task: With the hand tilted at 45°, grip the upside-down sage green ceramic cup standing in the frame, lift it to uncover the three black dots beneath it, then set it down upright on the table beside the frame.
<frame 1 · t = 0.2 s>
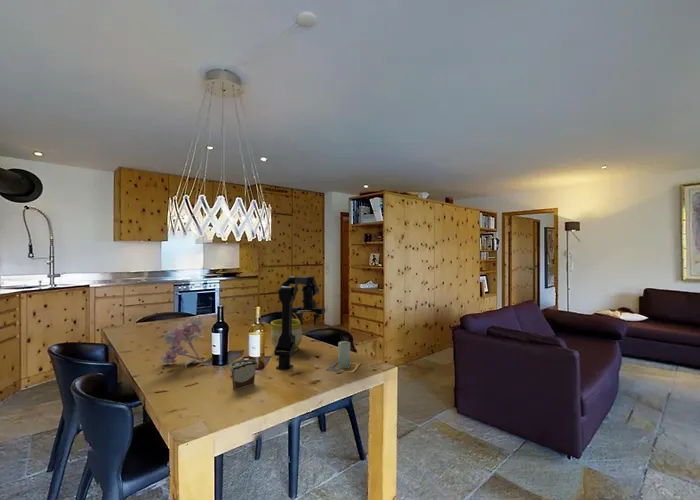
hand: (308, 325, 203), 15 cm above the table, tool pointing down, fingers open, 8 cm apart
flowerpot: (286, 350, 206), on the table, touching gripper
flower: (178, 365, 179), on the table
food container: (240, 385, 152), on the table
dot frame: (344, 367, 177), on the table
sage cup: (344, 366, 177), on the table, touching dot frame
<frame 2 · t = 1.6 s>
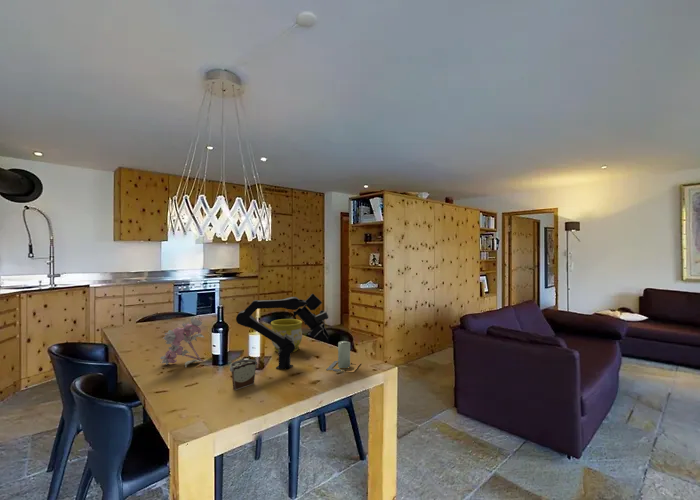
hand: (329, 339, 177), 13 cm above the table, tool tilted 45°, fingers open, 9 cm apart
flowerpot: (286, 350, 206), on the table
everything else where it was.
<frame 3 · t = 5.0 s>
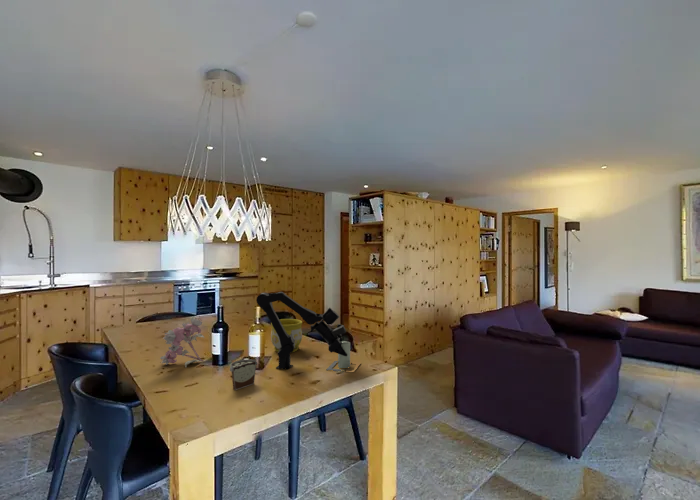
hand: (347, 353, 177), 7 cm above the table, tool tilted 45°, fingers closed on sage cup, 6 cm apart
sage cup: (344, 366, 177), on the table, touching dot frame, gripper
everything else where it was.
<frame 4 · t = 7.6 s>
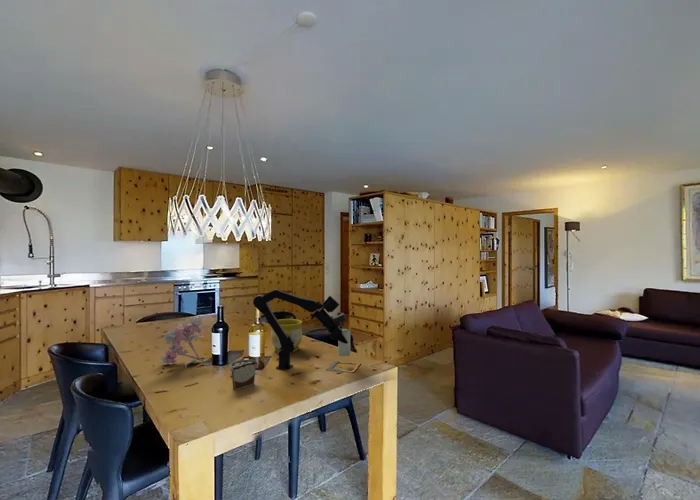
hand: (347, 341, 178), 12 cm above the table, tool tilted 45°, fingers closed on sage cup, 6 cm apart
sage cup: (344, 354, 178), point 6 cm above the table, touching gripper
everything else where it was.
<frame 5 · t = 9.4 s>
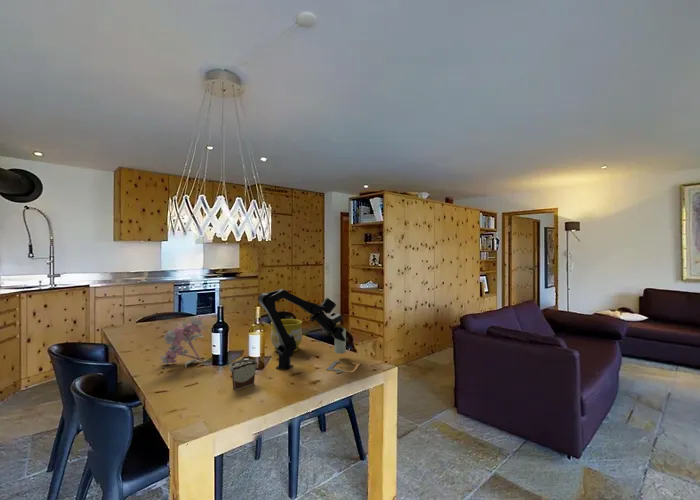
hand: (342, 339, 191), 10 cm above the table, tool tilted 45°, fingers closed on sage cup, 6 cm apart
sage cup: (340, 351, 191), point 3 cm above the table, touching gripper
everything else where it was.
when the fingers open (8 cm above the table, at t = 10.7 s): sage cup drops 2 cm, on the table.
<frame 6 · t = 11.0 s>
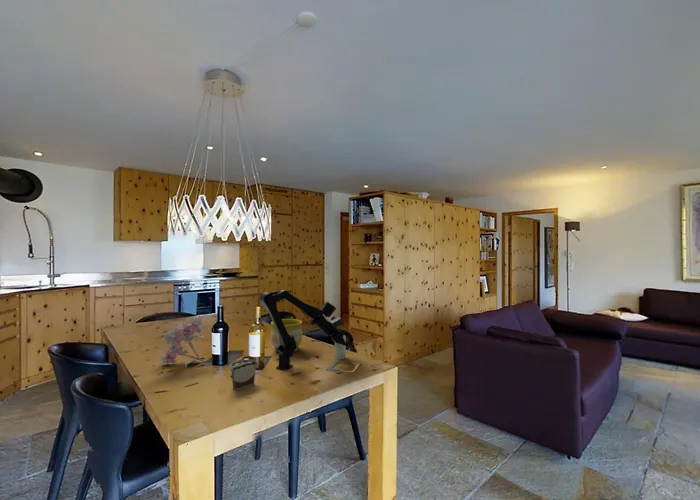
hand: (342, 343, 191), 8 cm above the table, tool tilted 45°, fingers open, 9 cm apart
sage cup: (340, 358, 191), on the table
everything else where it was.
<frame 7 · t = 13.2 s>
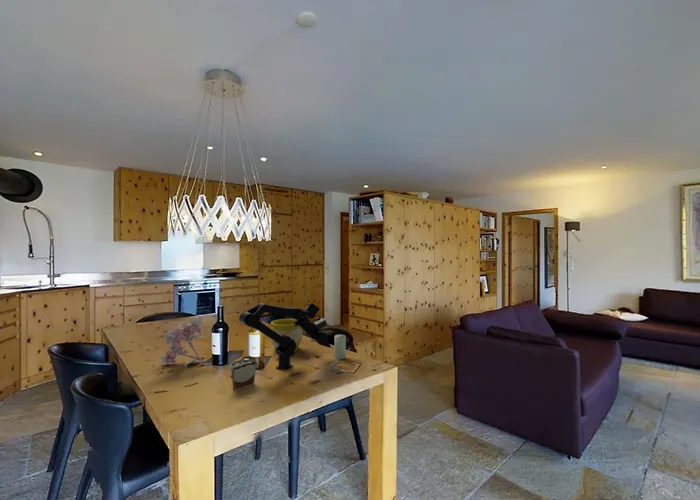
hand: (327, 344, 188), 8 cm above the table, tool tilted 45°, fingers open, 9 cm apart
nothing on the table moved.
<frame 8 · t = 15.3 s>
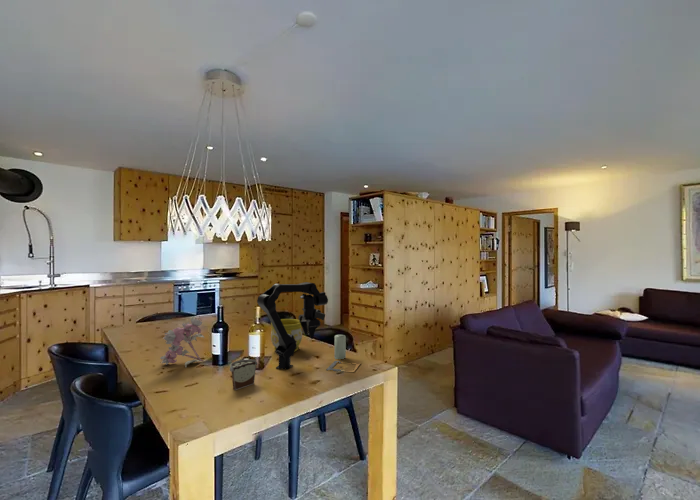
hand: (308, 336, 185), 13 cm above the table, tool pointing down, fingers open, 9 cm apart
nothing on the table moved.
at the end: sage cup inside the target area (0.0 cm from its centre), on the table; sage cup tilted 0°; the gripper is holding nothing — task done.
